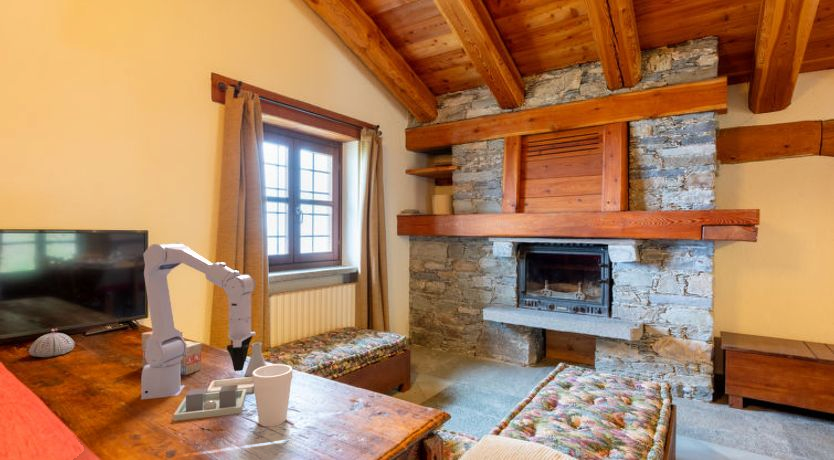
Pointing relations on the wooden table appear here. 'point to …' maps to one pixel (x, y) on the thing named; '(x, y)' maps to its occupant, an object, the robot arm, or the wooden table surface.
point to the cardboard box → (189, 359)
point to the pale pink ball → (210, 405)
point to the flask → (255, 359)
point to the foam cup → (272, 393)
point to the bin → (214, 396)
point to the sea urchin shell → (51, 345)
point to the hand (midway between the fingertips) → (240, 365)
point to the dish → (241, 382)
